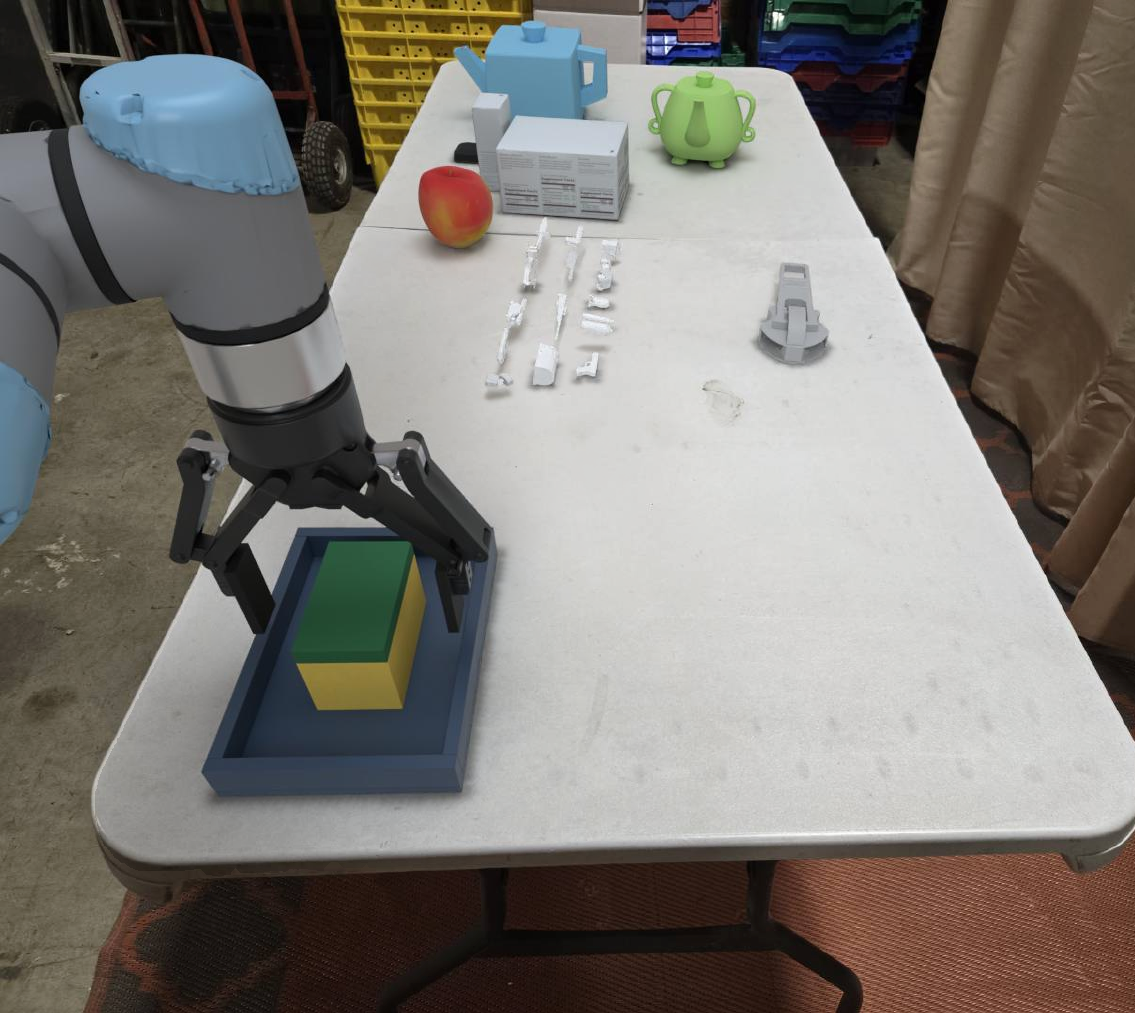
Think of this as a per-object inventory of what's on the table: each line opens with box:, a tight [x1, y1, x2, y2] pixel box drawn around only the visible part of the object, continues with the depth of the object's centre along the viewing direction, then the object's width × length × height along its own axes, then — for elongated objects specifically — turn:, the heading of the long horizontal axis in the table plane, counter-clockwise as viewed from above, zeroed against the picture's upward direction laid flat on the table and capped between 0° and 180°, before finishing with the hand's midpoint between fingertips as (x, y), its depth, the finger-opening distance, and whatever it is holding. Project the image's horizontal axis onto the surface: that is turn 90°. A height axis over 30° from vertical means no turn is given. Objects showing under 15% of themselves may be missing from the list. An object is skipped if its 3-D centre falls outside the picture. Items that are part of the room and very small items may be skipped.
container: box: [452, 20, 609, 123], centre depth 141 cm, size 17×25×15 cm
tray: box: [200, 526, 498, 798], centre depth 63 cm, size 22×16×3 cm
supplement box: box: [495, 115, 630, 221], centre depth 121 cm, size 17×13×9 cm
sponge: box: [291, 541, 426, 710], centre depth 61 cm, size 10×6×7 cm, turn 3°
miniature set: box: [484, 217, 623, 388], centre depth 100 cm, size 6×35×12 cm
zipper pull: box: [758, 261, 830, 365], centre depth 101 cm, size 8×18×4 cm, turn 175°
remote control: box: [453, 141, 479, 164], centre depth 133 cm, size 5×2×15 cm
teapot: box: [647, 70, 757, 169], centre depth 133 cm, size 16×14×13 cm
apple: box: [417, 165, 494, 249], centre depth 110 cm, size 10×10×10 cm
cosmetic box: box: [471, 92, 511, 192], centre depth 123 cm, size 6×4×12 cm
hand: (361, 618), depth 61 cm, fingers open, 13 cm apart
